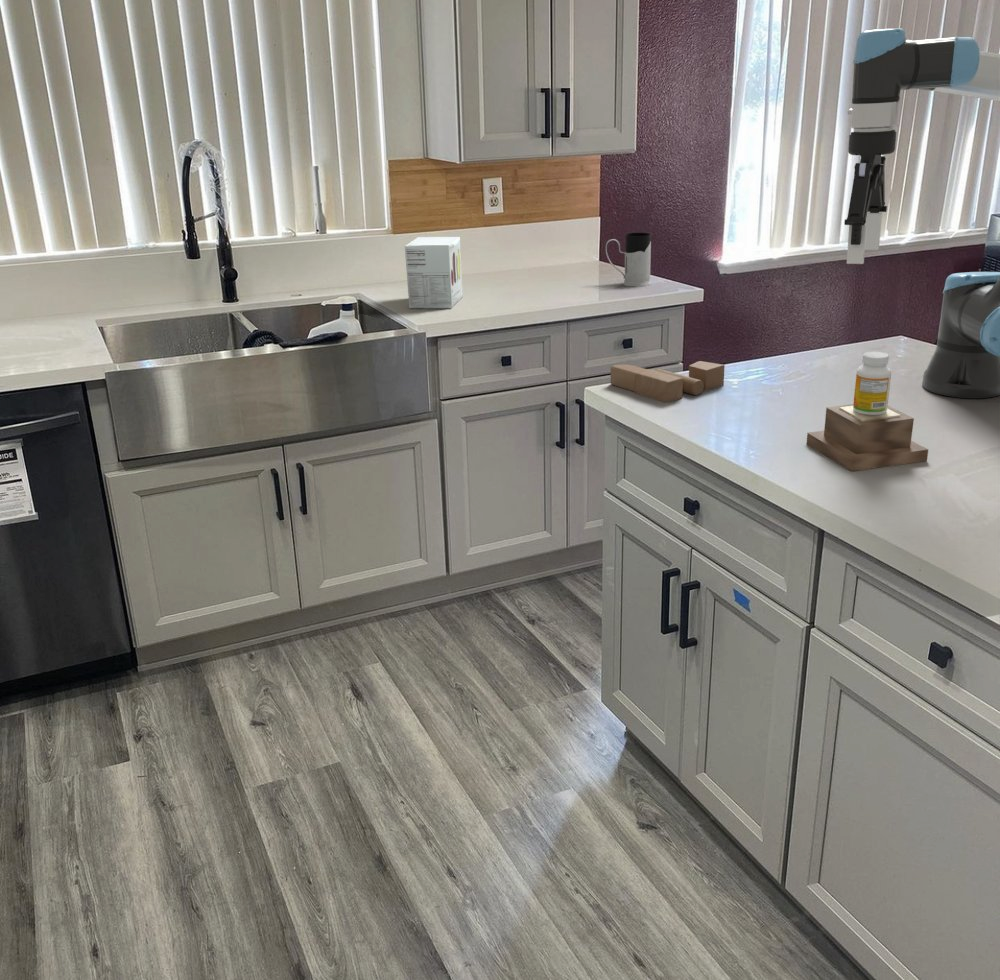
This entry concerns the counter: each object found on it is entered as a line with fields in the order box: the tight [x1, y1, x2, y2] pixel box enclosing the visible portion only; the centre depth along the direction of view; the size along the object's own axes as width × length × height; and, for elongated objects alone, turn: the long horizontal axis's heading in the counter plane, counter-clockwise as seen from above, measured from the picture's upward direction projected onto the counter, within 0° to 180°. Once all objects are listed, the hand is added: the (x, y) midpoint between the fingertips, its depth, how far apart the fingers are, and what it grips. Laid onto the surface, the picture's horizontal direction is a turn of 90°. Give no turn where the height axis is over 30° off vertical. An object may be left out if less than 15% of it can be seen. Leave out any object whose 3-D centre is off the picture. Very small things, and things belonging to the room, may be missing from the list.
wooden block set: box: [610, 360, 726, 403], centre depth 208 cm, size 17×6×18 cm
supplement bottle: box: [852, 351, 892, 415], centre depth 165 cm, size 5×5×10 cm
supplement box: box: [404, 236, 464, 309], centre depth 291 cm, size 17×13×18 cm
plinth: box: [806, 403, 929, 472], centre depth 168 cm, size 14×14×7 cm
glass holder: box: [605, 232, 652, 288], centre depth 306 cm, size 9×14×15 cm, turn 84°
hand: (863, 256), depth 176 cm, fingers open, 13 cm apart
